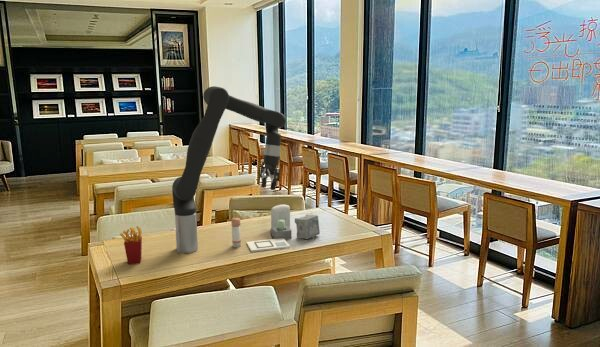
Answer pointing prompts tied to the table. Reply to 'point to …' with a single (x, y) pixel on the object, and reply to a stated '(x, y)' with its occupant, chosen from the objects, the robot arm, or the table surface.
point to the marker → (236, 232)
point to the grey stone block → (307, 226)
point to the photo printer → (280, 215)
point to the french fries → (133, 245)
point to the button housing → (281, 232)
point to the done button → (281, 224)
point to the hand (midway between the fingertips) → (268, 188)
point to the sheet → (268, 244)
